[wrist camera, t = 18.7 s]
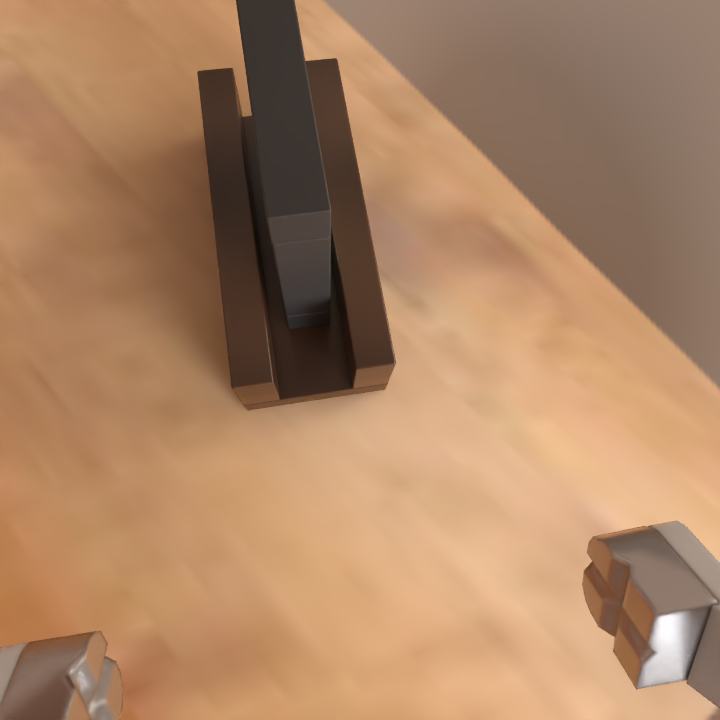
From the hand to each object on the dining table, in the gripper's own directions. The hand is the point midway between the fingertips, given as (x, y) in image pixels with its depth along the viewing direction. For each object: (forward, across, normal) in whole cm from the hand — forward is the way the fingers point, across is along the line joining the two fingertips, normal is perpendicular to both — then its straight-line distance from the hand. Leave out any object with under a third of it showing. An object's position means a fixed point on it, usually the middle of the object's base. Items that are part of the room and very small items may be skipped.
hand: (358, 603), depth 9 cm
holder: (+19, 0, 0) cm, 19 cm away
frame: (+18, 0, -1) cm, 19 cm away
